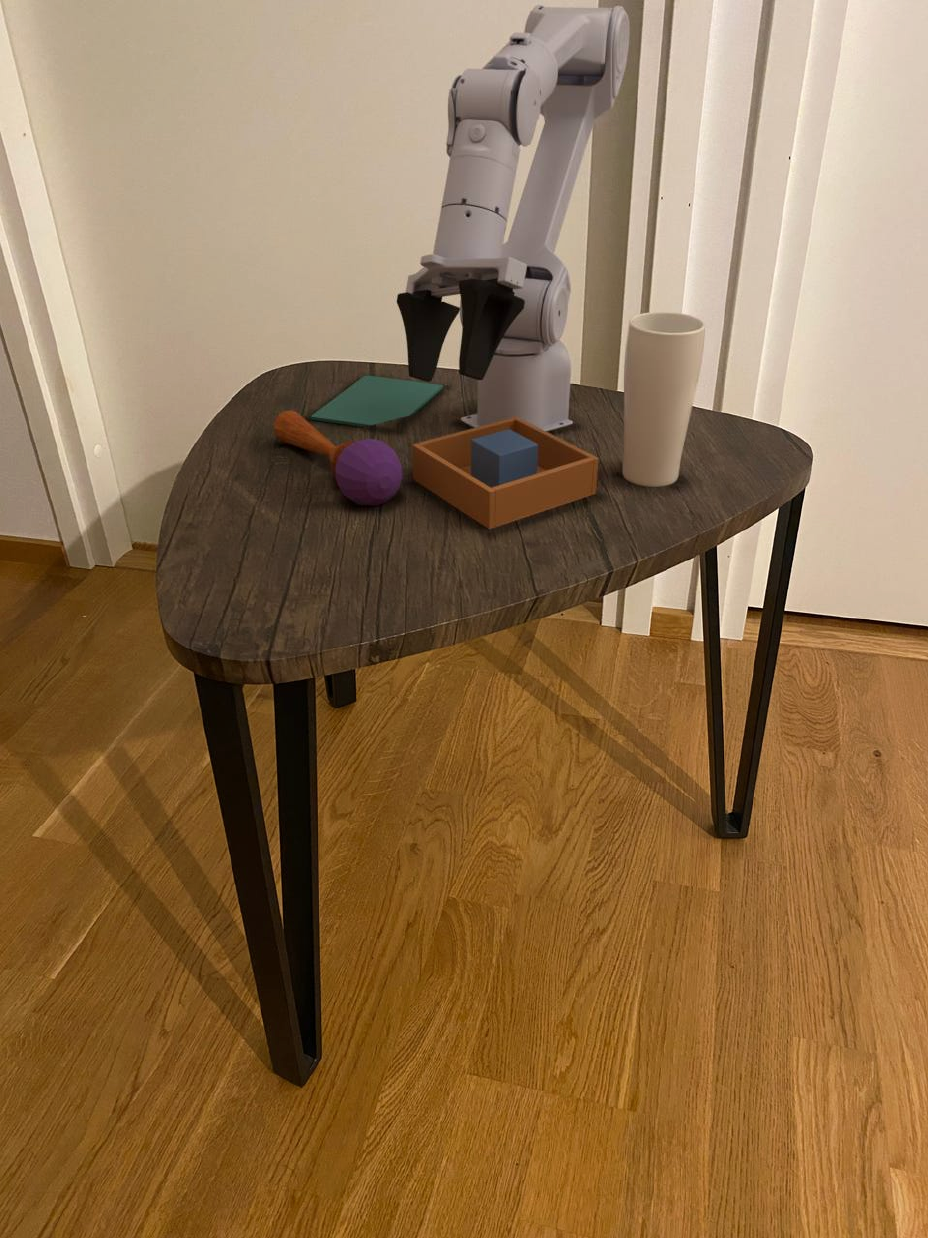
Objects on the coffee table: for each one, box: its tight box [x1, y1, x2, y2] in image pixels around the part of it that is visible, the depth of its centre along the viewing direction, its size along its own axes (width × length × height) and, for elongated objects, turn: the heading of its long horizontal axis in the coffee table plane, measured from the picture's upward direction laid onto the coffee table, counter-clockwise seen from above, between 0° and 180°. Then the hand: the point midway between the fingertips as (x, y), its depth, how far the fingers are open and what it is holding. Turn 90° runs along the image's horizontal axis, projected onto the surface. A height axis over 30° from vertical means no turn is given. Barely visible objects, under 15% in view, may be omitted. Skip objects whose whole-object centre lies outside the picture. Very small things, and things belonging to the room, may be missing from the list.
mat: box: [310, 374, 444, 428], centre depth 110 cm, size 14×10×1 cm
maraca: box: [273, 409, 404, 507], centre depth 93 cm, size 6×6×20 cm
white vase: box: [621, 311, 706, 488], centre depth 90 cm, size 7×7×15 cm
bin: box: [412, 417, 599, 530], centre depth 91 cm, size 12×12×4 cm
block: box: [471, 429, 538, 488], centre depth 90 cm, size 4×4×4 cm
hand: (444, 378), depth 84 cm, fingers open, 7 cm apart
